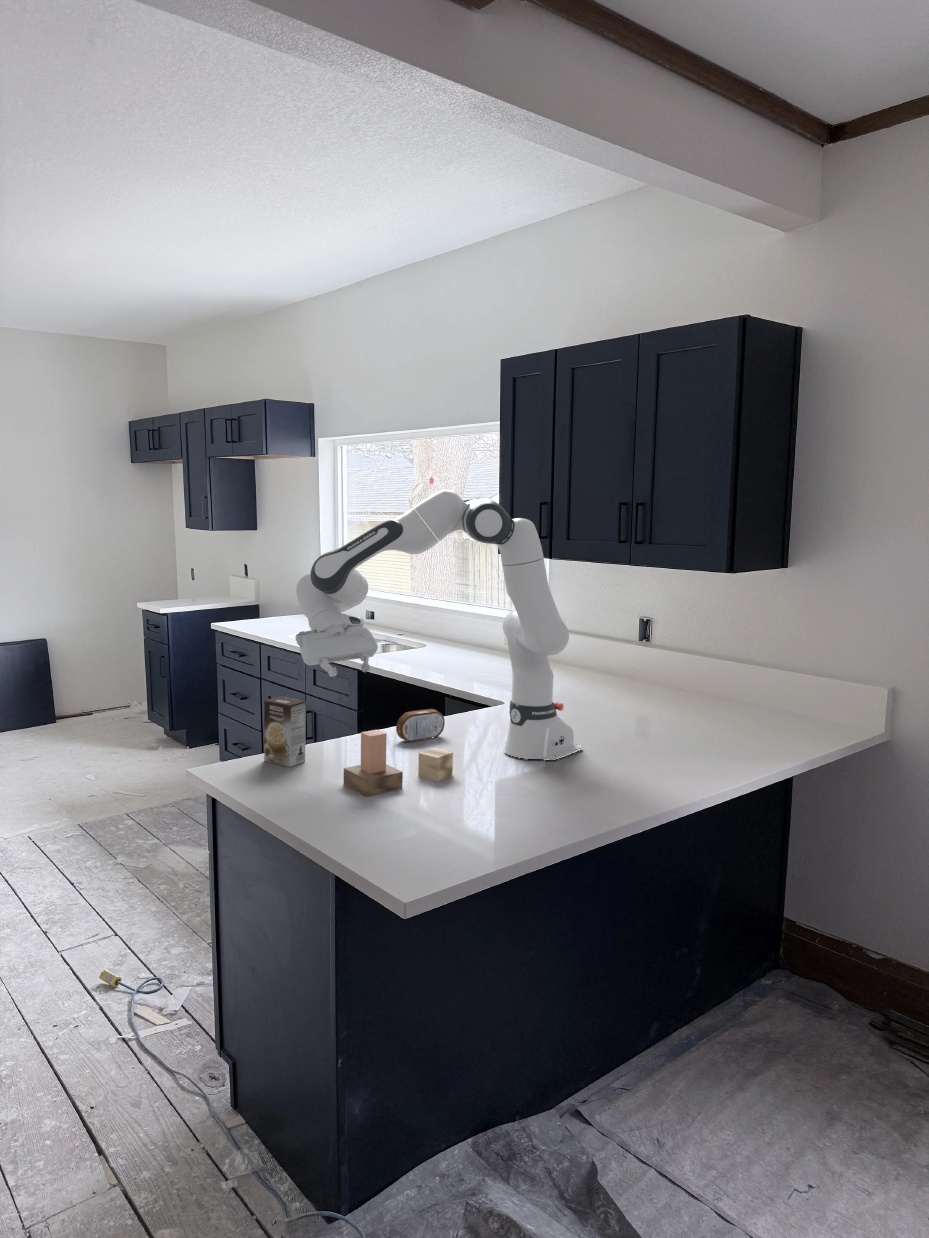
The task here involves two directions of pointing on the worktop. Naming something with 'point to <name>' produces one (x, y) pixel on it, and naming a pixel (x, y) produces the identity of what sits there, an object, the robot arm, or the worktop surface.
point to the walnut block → (373, 780)
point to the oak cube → (435, 764)
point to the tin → (420, 725)
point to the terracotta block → (373, 751)
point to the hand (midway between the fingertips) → (350, 672)
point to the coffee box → (284, 731)
